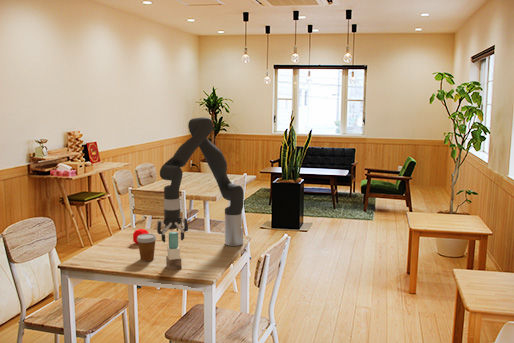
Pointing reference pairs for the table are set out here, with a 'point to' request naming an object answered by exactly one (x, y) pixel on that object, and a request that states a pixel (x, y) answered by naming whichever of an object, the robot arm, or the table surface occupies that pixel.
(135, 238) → the red faceted polyhedron
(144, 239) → the disposable coffee cup
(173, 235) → the teal capsule
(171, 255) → the cream block
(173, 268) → the walnut base block
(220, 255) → the table surface
